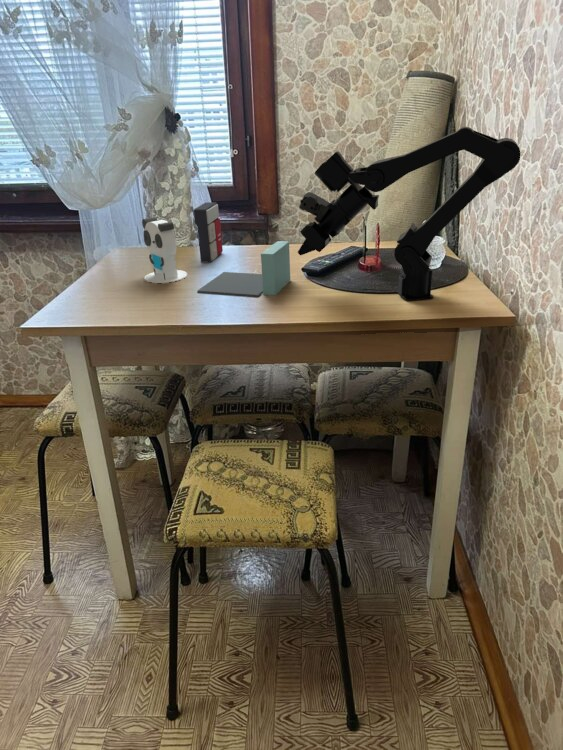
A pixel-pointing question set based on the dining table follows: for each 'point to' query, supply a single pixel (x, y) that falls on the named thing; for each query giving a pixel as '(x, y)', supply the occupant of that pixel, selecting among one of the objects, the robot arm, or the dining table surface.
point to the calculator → (208, 231)
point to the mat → (235, 284)
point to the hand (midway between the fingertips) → (299, 253)
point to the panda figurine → (161, 251)
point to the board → (275, 267)
